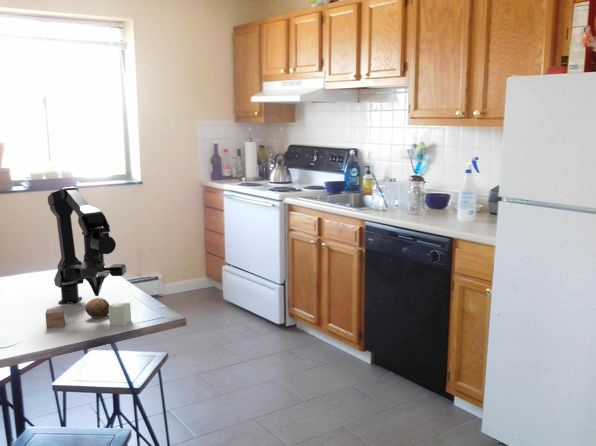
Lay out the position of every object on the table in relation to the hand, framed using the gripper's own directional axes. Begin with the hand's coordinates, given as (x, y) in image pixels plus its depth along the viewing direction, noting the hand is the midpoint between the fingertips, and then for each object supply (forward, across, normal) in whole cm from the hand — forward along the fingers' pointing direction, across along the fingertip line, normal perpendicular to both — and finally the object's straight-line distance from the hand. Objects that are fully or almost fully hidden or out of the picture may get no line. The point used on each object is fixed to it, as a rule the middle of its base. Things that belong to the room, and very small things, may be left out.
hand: (97, 295), depth 192 cm
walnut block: (+7, -11, -8) cm, 15 cm away
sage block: (+7, +9, -7) cm, 13 cm away
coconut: (+7, 0, 0) cm, 7 cm away
